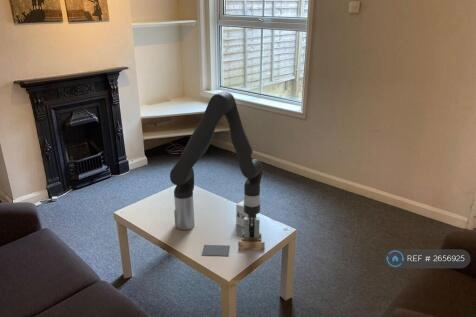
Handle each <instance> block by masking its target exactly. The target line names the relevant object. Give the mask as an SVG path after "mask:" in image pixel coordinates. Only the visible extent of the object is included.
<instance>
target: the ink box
mask: <svg viewBox="0 0 476 317" xmlns="http://www.w3.org/2000/svg"><path fill="white" fill-rule="evenodd" d="M235 213H236V214H235V219H236V220H235V222H236V223H235V225H237V226H240V227H242V228H244V217H248V214H246V213H245V212H244V199H243V200H241V201H240V202H238V203H236V211H235Z"/></svg>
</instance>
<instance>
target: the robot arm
mask: <svg viewBox="0 0 476 317" xmlns="http://www.w3.org/2000/svg"><path fill="white" fill-rule="evenodd" d="M237 106H238V105H237V102H236V99H235V97H234V95H233V94H232V93H231V92H229V91H222V92H217V93H215V94H213V95H212V97H210V99H209V100H208V103H207V106H206V109H205V111H204V114H203V115H202V117H201V119H200V121H199V122H198V124H197V125H196V127H195V129H194V130H193V132H192V134H191V136H190V138H189V140H188V142H187V143H186V146H185V147H184V149H183V151H182V153H181V155H180V158H179V159H178V160H177V162H176V163H175V165H174V166H173V167H172V169H171V170H170V172H169V180H170V182H171V183H172V185H175V188H174V190H173V197H174V198H173V200H174V210H173V213H174V225H175V227H174V228H175V229H178V230H182V231H187V230H191V229H193V228H194V227H195V208H194V206H195V205H194V189H195V171H194V168H193V167H194V166H195V164H197V162H198V161H199V160H200V159H201V158H202V156H203V155H204V154H205V153H206V151H208V148H209V147H210V145H211V143H212V141H213V140H214V136H215V130H216V127H217V125H218V124H219V122H220V120H221V119H222V118H223V117H225V119H226V121H227V123H228V127H229V128H228V129H229V135H230V140H231V143H232V146H233V149H234V151H235V153H236V156H237V158H238V164H239V169H240V172H241V174H242V175H243V176H244V178H246V180H245V182H244V188H243V190H244V192H243V194H244V195H243V200H244V212H245V213H246V214H248V226H249V237H252V238H253V237H254V231H255V229H254V227H255V226H256V217H257V215H259V213H261V193H260V192H261V182H262V175H263V164H262V162H261V161H260V160H259V159H257V158H253V159H252V155H253V152H254V151H253V148H252V145H251V144H250V141H249V139H248V136H247V134H246V132H245V130H244V129H245V128H244V127H243V124H242V121H241V117H240V114H239V110H238V107H237ZM249 222H250V223H249Z"/></svg>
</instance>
